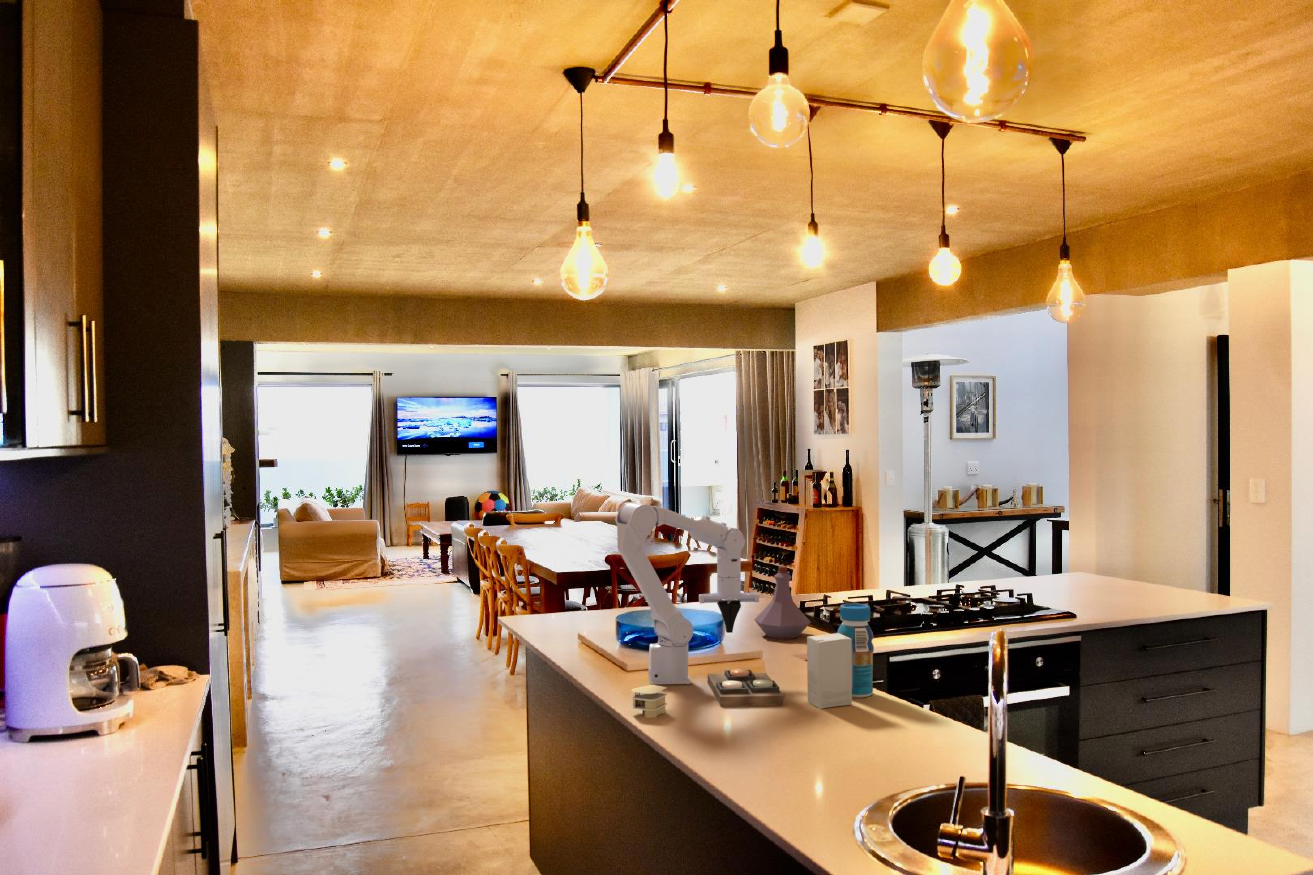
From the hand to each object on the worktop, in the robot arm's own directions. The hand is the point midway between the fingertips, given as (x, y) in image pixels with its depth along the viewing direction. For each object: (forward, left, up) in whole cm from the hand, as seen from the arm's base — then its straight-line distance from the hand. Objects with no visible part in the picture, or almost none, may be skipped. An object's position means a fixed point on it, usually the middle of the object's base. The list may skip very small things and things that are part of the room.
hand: (729, 631), depth 240 cm
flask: (+23, +44, -11) cm, 51 cm away
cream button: (-3, -22, -9) cm, 24 cm away
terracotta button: (+1, -11, -9) cm, 14 cm away
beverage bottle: (+26, -19, -11) cm, 34 cm away
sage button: (+4, -21, -9) cm, 23 cm away
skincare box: (+18, -27, -11) cm, 34 cm away
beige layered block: (-22, -32, -11) cm, 40 cm away
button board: (+1, -17, -10) cm, 20 cm away
